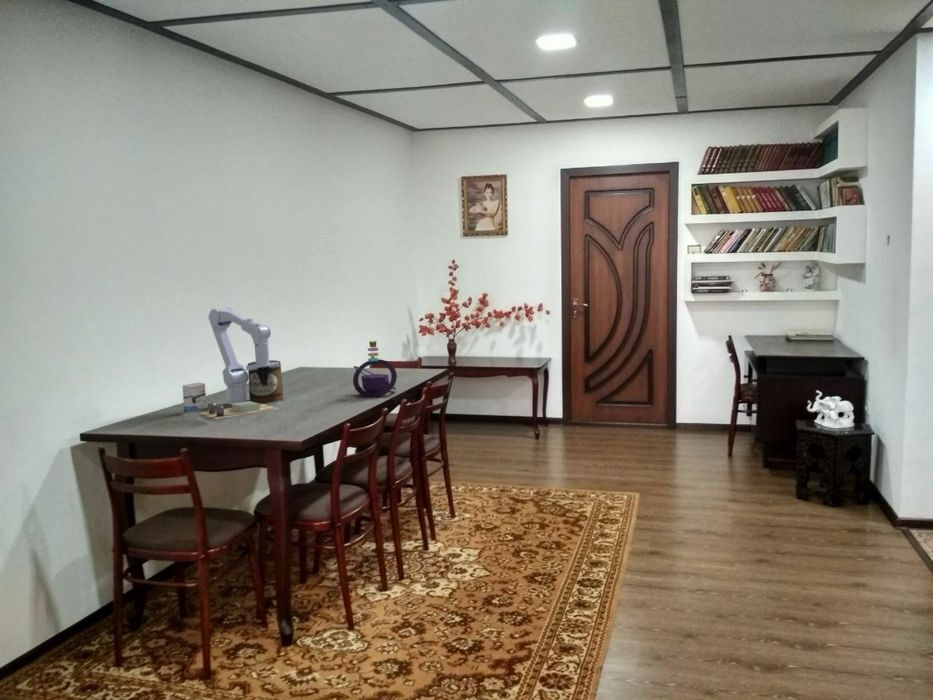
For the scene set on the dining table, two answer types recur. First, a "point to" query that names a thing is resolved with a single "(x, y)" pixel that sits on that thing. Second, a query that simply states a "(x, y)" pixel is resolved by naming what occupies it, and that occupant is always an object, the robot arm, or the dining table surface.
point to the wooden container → (269, 391)
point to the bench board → (230, 412)
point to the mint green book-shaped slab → (245, 406)
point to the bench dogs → (216, 409)
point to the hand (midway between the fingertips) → (264, 385)
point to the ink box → (194, 396)
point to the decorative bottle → (374, 377)
